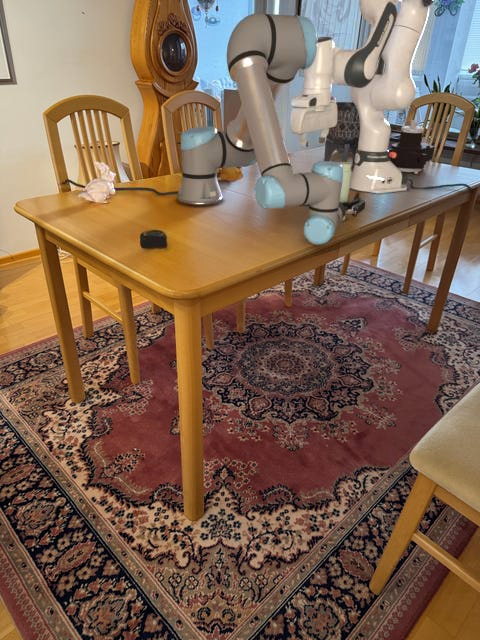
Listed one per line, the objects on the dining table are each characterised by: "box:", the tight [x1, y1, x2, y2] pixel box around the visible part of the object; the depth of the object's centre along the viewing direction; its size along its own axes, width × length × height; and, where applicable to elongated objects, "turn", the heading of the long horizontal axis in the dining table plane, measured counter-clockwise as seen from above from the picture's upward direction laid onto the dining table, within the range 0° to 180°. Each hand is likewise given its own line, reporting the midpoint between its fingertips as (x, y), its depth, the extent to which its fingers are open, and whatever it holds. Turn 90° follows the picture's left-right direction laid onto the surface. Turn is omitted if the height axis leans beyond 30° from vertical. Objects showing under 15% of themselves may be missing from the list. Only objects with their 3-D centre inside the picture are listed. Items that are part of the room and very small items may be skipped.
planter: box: [323, 101, 360, 167], centre depth 204 cm, size 20×20×26 cm
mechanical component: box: [388, 119, 436, 175], centre depth 204 cm, size 22×21×30 cm
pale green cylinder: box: [338, 161, 353, 222], centre depth 138 cm, size 4×4×17 cm
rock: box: [335, 147, 352, 154], centre depth 243 cm, size 13×9×6 cm, turn 131°
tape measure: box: [139, 229, 168, 250], centre depth 117 cm, size 7×7×4 cm
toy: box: [217, 167, 244, 183], centre depth 183 cm, size 11×6×15 cm
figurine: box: [77, 160, 117, 204], centre depth 150 cm, size 8×15×13 cm, turn 145°
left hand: (343, 195), depth 143 cm, fingers open, 8 cm apart
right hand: (313, 145), depth 148 cm, fingers open, 8 cm apart
